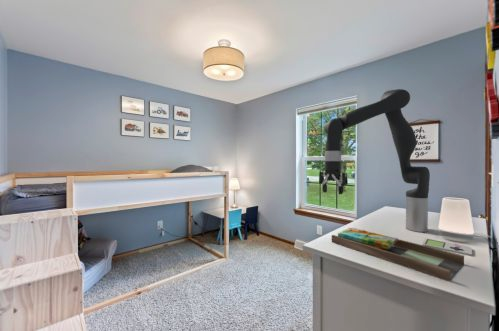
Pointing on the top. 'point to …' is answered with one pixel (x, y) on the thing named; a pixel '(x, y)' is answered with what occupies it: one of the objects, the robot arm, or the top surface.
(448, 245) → the handheld gaming console
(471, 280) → the top surface
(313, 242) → the top surface
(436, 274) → the channel
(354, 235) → the puzzle game
